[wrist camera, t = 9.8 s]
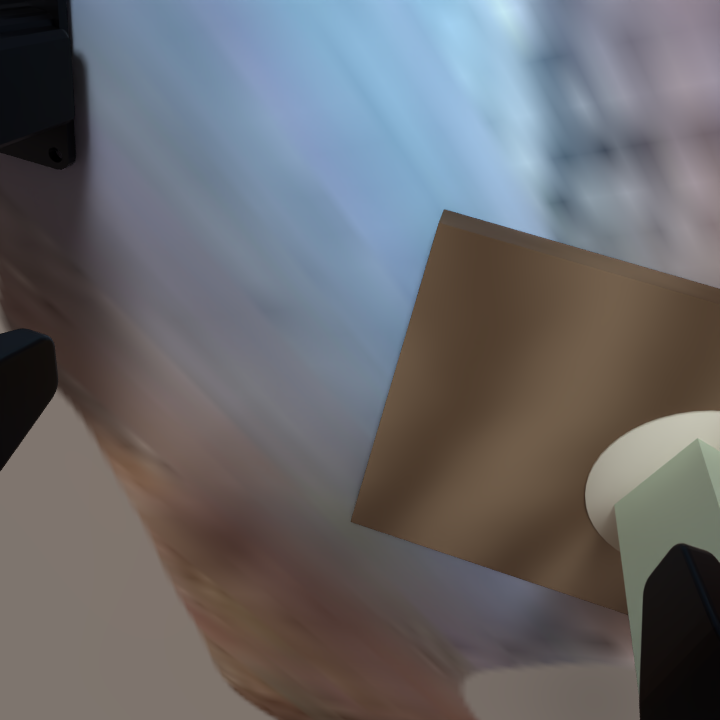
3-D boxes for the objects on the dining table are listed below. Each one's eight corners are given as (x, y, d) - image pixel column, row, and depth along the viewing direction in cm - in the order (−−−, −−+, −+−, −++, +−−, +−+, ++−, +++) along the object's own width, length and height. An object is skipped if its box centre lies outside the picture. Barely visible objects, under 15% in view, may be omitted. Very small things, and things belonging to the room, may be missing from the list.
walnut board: (357, 501, 28) (338, 558, 25) (443, 209, 20) (429, 248, 17) (715, 620, 27) (734, 693, 24) (963, 359, 19) (1032, 426, 16)
